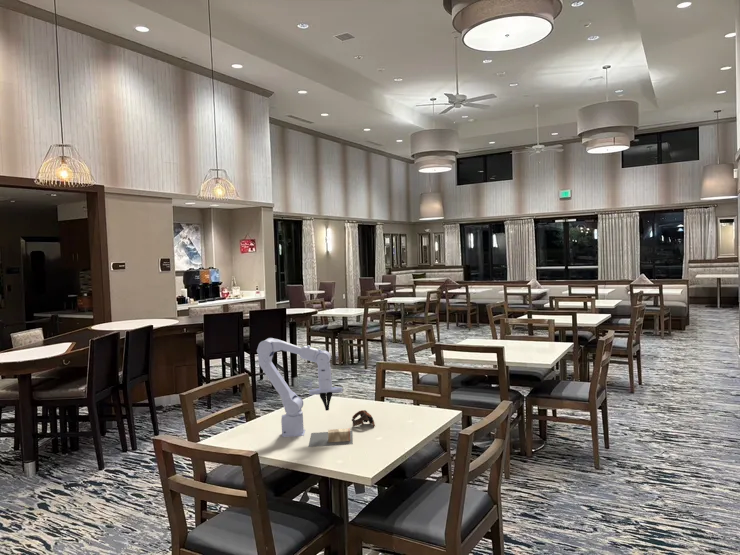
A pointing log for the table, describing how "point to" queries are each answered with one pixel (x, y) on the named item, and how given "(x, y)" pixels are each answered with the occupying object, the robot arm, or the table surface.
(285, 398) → the robot arm
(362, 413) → the brown curved piece
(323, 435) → the charcoal mat
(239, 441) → the table surface
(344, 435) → the maple block
